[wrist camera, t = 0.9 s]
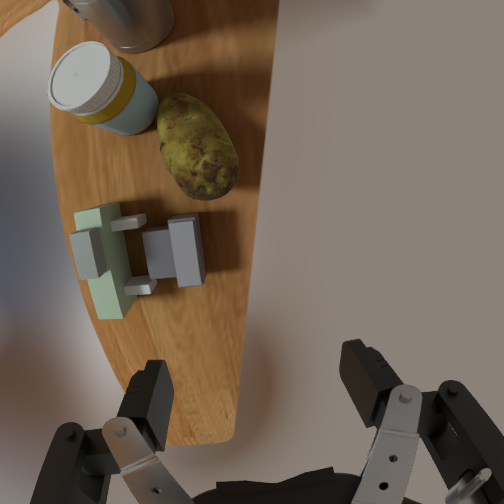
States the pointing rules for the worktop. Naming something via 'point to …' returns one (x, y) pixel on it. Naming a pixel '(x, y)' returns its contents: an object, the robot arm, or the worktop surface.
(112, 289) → the green block cluster
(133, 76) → the bottle
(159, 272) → the grey stepped block
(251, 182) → the worktop surface
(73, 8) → the coffee box
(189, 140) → the potato
